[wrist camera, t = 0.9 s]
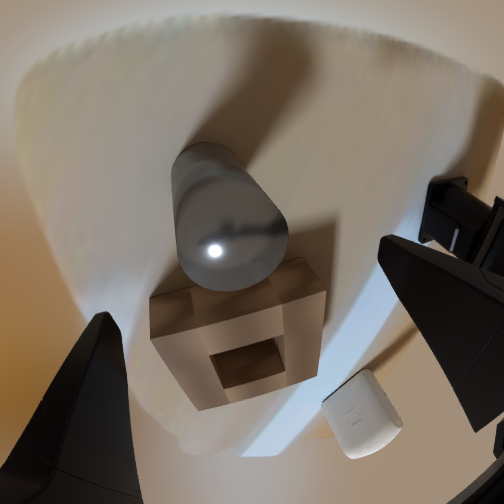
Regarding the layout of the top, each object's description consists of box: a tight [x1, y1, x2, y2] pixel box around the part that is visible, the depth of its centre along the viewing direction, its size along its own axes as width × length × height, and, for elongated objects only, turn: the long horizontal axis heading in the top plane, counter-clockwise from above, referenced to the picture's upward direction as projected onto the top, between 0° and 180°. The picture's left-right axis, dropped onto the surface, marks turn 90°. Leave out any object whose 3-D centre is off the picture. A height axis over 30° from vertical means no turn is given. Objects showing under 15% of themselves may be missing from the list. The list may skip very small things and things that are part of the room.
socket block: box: [149, 257, 326, 411], centre depth 23 cm, size 12×12×4 cm
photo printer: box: [321, 369, 403, 459], centre depth 35 cm, size 10×4×12 cm, turn 144°
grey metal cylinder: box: [171, 142, 289, 291], centre depth 13 cm, size 4×4×8 cm
